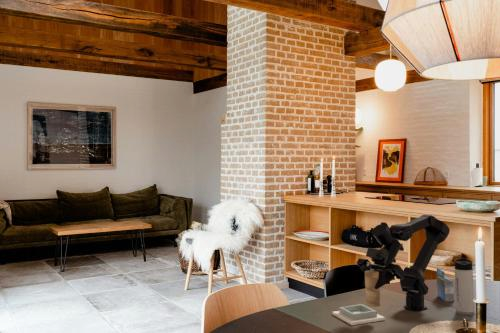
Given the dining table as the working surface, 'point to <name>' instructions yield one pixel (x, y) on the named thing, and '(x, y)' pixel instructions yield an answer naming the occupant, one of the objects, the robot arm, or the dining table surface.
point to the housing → (358, 314)
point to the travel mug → (464, 287)
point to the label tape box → (444, 287)
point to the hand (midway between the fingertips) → (369, 287)
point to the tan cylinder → (372, 288)
